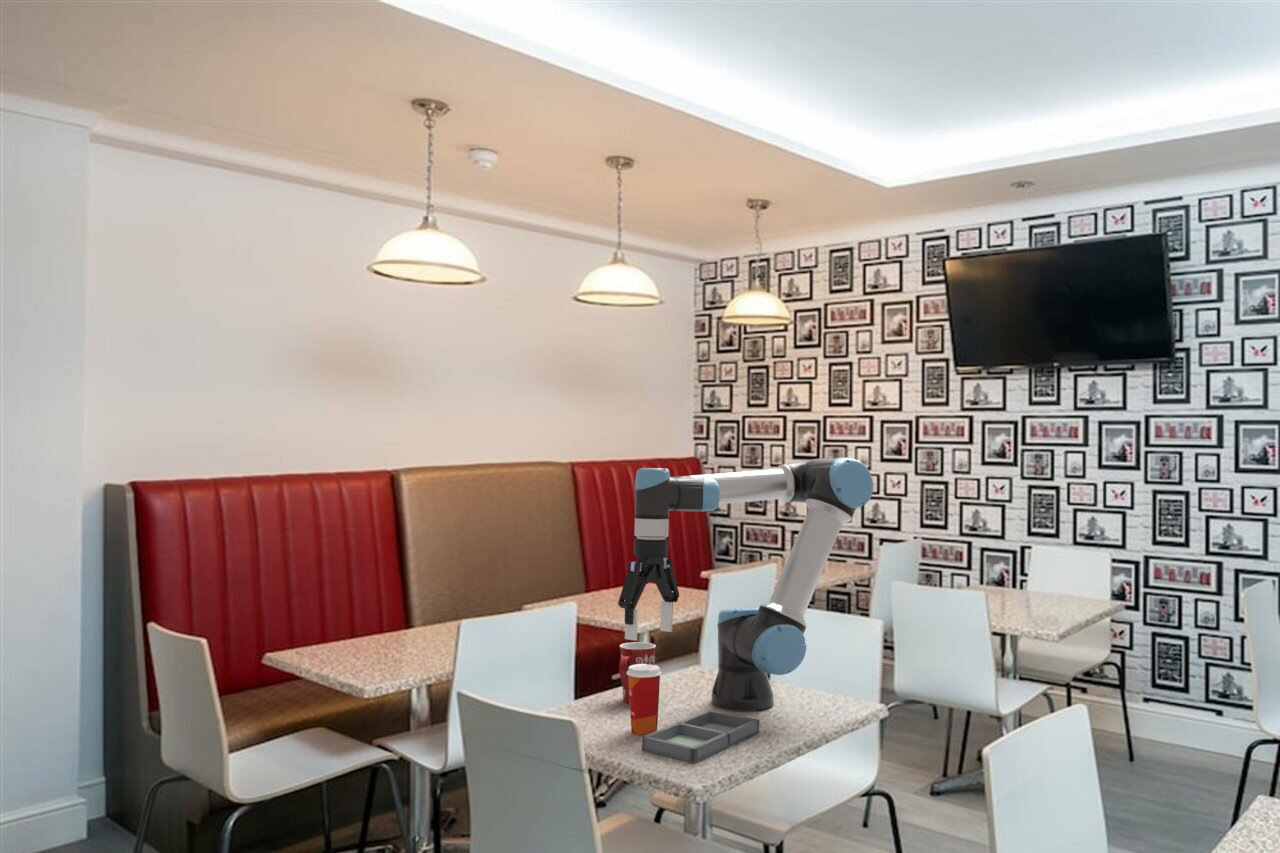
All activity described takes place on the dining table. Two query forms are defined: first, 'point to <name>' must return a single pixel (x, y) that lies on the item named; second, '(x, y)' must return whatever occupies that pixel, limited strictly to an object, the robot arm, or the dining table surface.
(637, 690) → the paper cup
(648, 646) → the mug
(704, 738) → the cup carrier
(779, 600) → the robot arm
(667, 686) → the dining table surface
